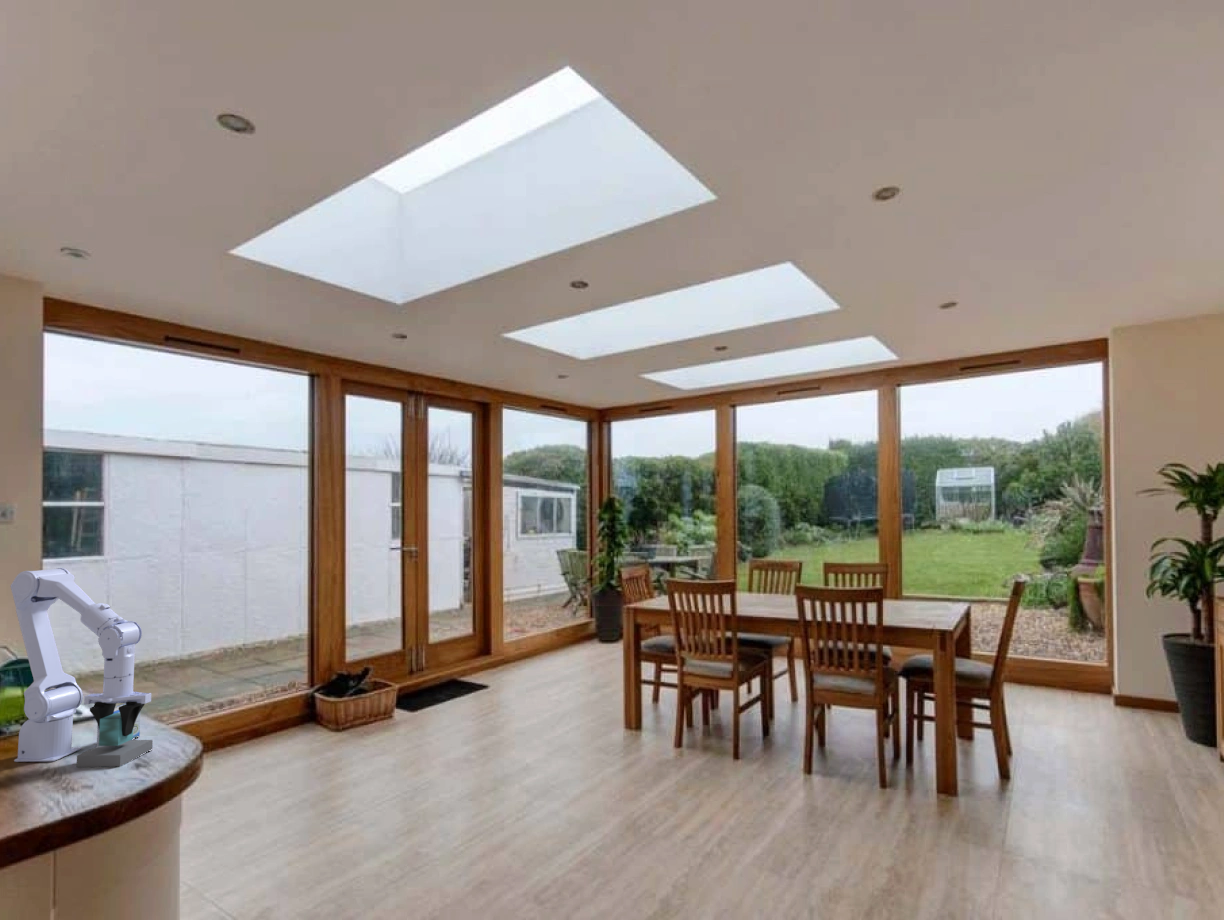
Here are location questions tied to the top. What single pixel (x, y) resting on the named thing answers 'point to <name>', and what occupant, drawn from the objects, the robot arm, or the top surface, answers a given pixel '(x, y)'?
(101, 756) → the charcoal base
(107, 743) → the teal block
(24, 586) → the robot arm
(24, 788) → the top surface
